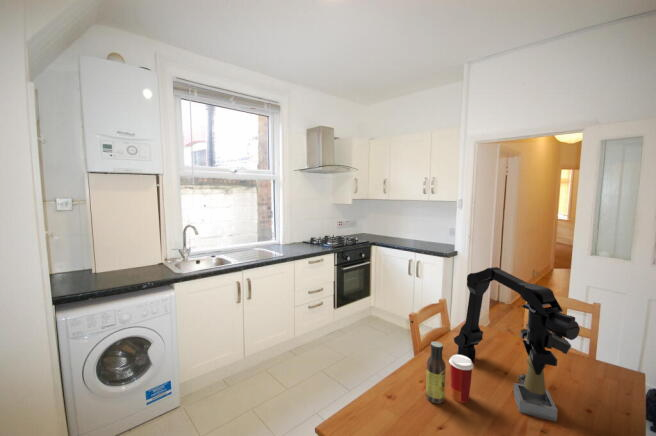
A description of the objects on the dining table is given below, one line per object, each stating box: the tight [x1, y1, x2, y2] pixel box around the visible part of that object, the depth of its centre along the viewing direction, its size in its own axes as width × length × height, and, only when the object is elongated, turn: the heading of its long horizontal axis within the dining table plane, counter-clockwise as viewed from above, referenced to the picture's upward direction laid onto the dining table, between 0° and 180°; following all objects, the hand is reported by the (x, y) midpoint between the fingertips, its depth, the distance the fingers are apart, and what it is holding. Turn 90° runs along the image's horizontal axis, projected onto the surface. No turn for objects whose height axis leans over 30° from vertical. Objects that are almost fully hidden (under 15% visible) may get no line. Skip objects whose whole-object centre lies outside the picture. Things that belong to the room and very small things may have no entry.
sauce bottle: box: [425, 341, 447, 404], centre depth 100 cm, size 6×6×20 cm
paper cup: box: [448, 354, 475, 404], centre depth 101 cm, size 8×8×14 cm
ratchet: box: [512, 373, 559, 423], centre depth 101 cm, size 10×19×5 cm, turn 157°
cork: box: [524, 355, 547, 394], centre depth 96 cm, size 6×6×11 cm
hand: (535, 370), depth 96 cm, fingers closed on cork, 5 cm apart
